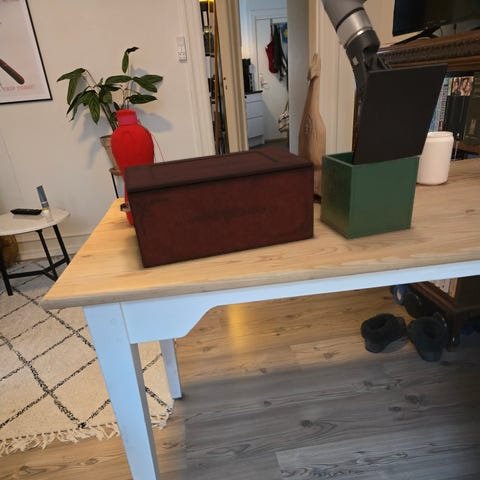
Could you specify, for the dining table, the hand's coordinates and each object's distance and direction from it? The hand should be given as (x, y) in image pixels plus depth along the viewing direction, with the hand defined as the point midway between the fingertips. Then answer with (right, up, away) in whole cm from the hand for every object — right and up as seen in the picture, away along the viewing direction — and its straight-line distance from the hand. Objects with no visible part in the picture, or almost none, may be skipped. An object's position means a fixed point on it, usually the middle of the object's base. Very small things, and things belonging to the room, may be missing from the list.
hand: (397, 121), depth 98 cm
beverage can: (+13, -11, +12) cm, 21 cm away
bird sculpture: (-19, -15, +10) cm, 26 cm away
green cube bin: (-11, -27, -11) cm, 31 cm away
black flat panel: (-11, -13, -29) cm, 33 cm away
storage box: (-42, -29, -9) cm, 52 cm away
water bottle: (-60, -23, +5) cm, 64 cm away
